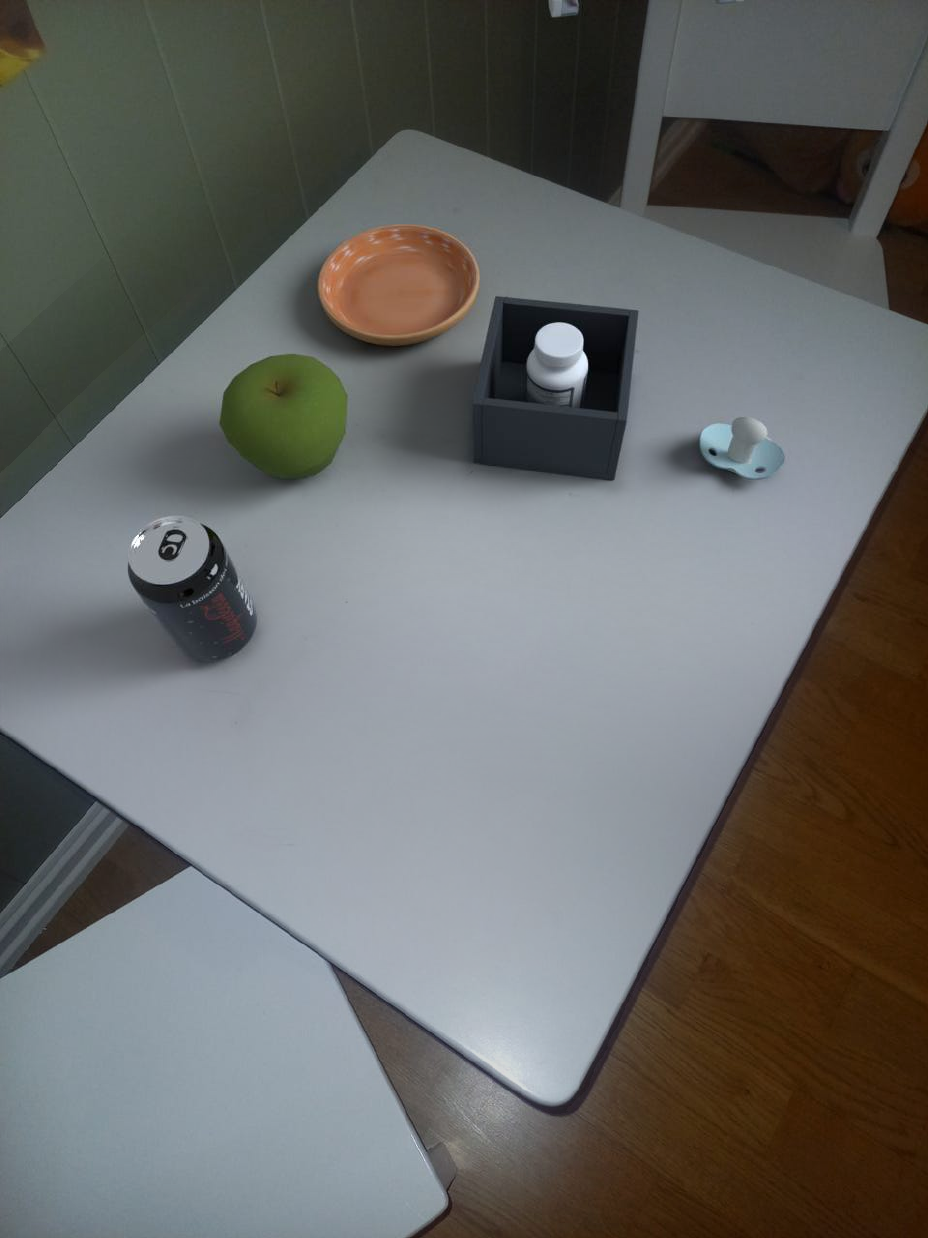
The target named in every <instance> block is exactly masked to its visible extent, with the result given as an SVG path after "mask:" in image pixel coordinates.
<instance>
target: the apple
mask: <svg viewBox="0 0 928 1238" xmlns="http://www.w3.org/2000/svg"><path fill="white" fill-rule="evenodd" d="M348 398H349V395H348V393H347V391H346V388H345V386H344V384H343V383H342V381H341V379H340V377H339V376H338V375H337V374H336V373H335V372H334V371H333V369H332V368H330V367H329V366H328V365H326V364H325V363H323V362H321V361H320V360H319V359H317V358H315V357H314V356H308V355H302V354H296V353H286V354H278V355H276V354H275V355H269V356H267V357H265V358H263V359H261V360H258V361H255V362H254V363H251V364H250V365H249V366H246V368H244V369H243V370H242V371H240V372H239V373H237V374H236V375H235V376H234V377H232V379H231V381H230V382H229V384H228V385H227V387H226V388H225V390H224V391H223V394H222V402H221V409H220V416H219V427H220V429H221V431H222V433H223V434H224V437H225V438H226V440H227V442H228V444H230V446H231V447H232V448H233V449H234V450H235V451H236V452H237V453H238V454H239V455H240V456H241V457H242V458H243V459H245V460H246V461H247V462H248V463H250V464H251V465H253V466H254V467H256V469H259V470H261V471H262V472H264V473H266V474H268V475H269V476H271V477H275V478H279V479H283V480H301V479H306V478H309V477H312V476H314V475H317V474H320V473H321V472H322V471H323V470H324V469H326V468H327V467H328V466H329V465H330V464H332V462H333V460H334V459H335V456H336V454H337V452H338V450H339V447H340V446H341V444H342V441H343V439H344V437H345V436H346V435H345V434H346V427H347V413H348Z"/></svg>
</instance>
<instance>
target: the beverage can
mask: <svg viewBox="0 0 928 1238" xmlns="http://www.w3.org/2000/svg"><path fill="white" fill-rule="evenodd" d="M127 552H128V553H127V556H128V557H127V559H128V562H127V576H128V580H129V581H130V584H131V586H132V587H133V589H134V591H135V592H136V594H137V595H138V596H139V598H140V599H141V600H142V602H143V603H144V604H145V606H146V607H147V609H148V610H149V611H150V613H151V614H152V616H153V617H154V618H155V619H156V621H157V622H158V623H159V625H160V626H161V627H162V629H163V631H164V632H165V633H166V634H167V635H168V637H169V638H170V640H172V642H173V643H174V644H175V646H176V647H177V648H178V649H179V650H180V651H181V653H183V654H184V655H186V656H187V657H188V658H190V659H193V660H195V661H200V662H218V661H222V660H225V659H228V658H230V657H233V656H234V655H236V654H238V653H239V652H240V651H241V650H243V649H244V648H245V647H246V646H247V644H248V643H250V641H251V639H252V638H253V636H254V634H255V631H256V628H257V622H258V613H257V609H256V607H255V604H254V601H253V600H252V598H251V596H250V594H249V591H248V590H247V587H246V586H245V584H244V582H243V580H242V578H241V576H240V574H239V572H238V570H237V568H236V566H235V564H234V561H233V560H232V558H231V556H230V554H229V552H228V550H227V549H226V546H225V545H224V543H223V541H222V540H221V538H220V537H219V535H218V534H217V533H216V532H215V531H214V530H213V529H211V527H208V525H205V524H203V523H200V522H199V521H197V520H195V519H194V518H192V517H189V516H184V515H167V516H163V517H160V518H157V519H155V520H152V521H150V522H149V523H148V524H146V525H144V526H143V527H142V528H140V530H139V531H138V532H137V533H136V534H135V535H134V537H133V538H132V540H131V542H130V545H129V547H128V551H127Z"/></svg>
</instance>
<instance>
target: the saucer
mask: <svg viewBox="0 0 928 1238" xmlns="http://www.w3.org/2000/svg"><path fill="white" fill-rule="evenodd" d="M479 286H480V269H479V266H478V263H477V261H476V258H475V256H474V255H473V253H472V252H471V250H469V248H468V246H466V245H465V244H464V243H463V242H462V241H460V240H459V239H457V238H456V236H455V237H454V236H453V235H451V234H449V233H447V232H445V231H442V230H439V229H437V228H434V227H430V226H425V225H420V224H419V225H418V224H405V223H403V224H388V225H383V226H382V225H381V226H378V227H373V228H371V229H368V230H364V231H362V232H360V233H358V234H355V235H353V236H351V237H350V238H348V239H347V240H344V241H343V242H342V243H341V244H339V245H338V246H337V247H336V248H335V249H334V250H333V251H332V252H331V253H330V254H329V255H328V256H327V258H326V259H325V261H324V263H323V264H322V266H321V268H320V271H319V273H318V277H317V294H318V299H319V302H320V304H321V306H322V309H323V311H324V312H325V314H326V316H327V317H328V319H329V320H330V321H331V322H332V323H333V324H334V325H335V327H337V328H338V329H340V330H341V331H342V332H344V333H346V334H347V335H349V336H351V337H353V338H355V339H357V340H361V341H363V342H367V343H370V344H374V345H378V346H391V347H398V346H399V347H400V346H409V345H415V344H420V343H423V342H425V341H429V340H432V339H434V338H436V337H438V336H440V335H443V334H444V333H445V332H447V331H448V330H450V329H452V328H453V327H454V326H455V325H457V324H458V323H459V322H460V321H461V320H463V319H464V317H465V316H466V315H467V314H468V313H469V311H470V310H471V309H472V307H473V305H474V303H475V301H476V299H477V297H478V292H479Z"/></svg>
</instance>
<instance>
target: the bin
mask: <svg viewBox="0 0 928 1238" xmlns="http://www.w3.org/2000/svg"><path fill="white" fill-rule="evenodd" d="M638 320H639V310H638V309H629V308H620V307H611V306H601V305H600V306H598V305H590V304H581V303H580V304H579V303H569V302H561V301H559V302H558V301H548V300H540V299H539V300H538V299H532V298H531V299H529V298H520V297H509V296H500V295H495V297H494V301H493V306H492V310H491V315H490V319H489V324H488V328H487V331H486V332H487V333H486V338H485V341H484V346H483V351H482V355H481V360H480V364H479V370H478V374H477V377H476V382H475V387H474V392H473V396H472V400H471V418H472V419H471V420H472V421H471V423H472V446H473V447H472V456H473V458H472V459H473V464H475V465H476V464H477V465H484V466H492V467H500V468H509V469H516V470H517V469H518V470H527V471H534V472H542V473H543V472H544V473H551V474H557V475H558V474H559V475H566V476H567V475H568V476H576V477H584V478H593V479H601V480H609V481H615V479H616V474H617V469H618V466H619V460H620V456H621V451H622V446H623V441H624V437H625V432H626V427H627V423H628V413H629V406H630V405H629V403H630V395H631V387H632V376H633V368H634V367H633V366H634V358H635V350H636V340H637V339H636V338H637V330H638V323H639V321H638ZM551 323H567V324H570V325H572V326H574V327H576V328H577V329H578V330H579V331H580V332H581V334H582V336H583V352H584V353H585V355H586V357H587V361H588V372H587V380H586V388H585V396H584V403H583V409H582V408H573V407H564V406H555V405H546V404H537V403H528V402H525V387H526V365H527V359H528V357H529V355H530V353H531V352H532V350H533V349H534V346H535V337H536V334H537V333H538V331H539V330H540V329H541V328H542V327H544V326H546V325H548V324H551Z"/></svg>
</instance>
